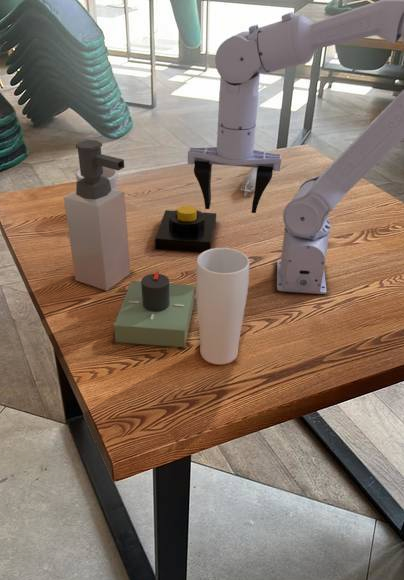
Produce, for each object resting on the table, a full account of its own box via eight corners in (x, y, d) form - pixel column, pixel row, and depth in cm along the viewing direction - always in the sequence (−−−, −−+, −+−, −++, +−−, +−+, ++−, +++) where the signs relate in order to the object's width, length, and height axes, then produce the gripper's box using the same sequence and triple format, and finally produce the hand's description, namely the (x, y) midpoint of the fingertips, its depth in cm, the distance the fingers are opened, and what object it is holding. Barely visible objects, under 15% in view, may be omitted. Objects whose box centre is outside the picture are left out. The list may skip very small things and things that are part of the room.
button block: (210, 253, 103) (210, 232, 100) (155, 249, 104) (154, 229, 101) (216, 223, 112) (216, 204, 110) (165, 220, 113) (165, 201, 110)
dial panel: (184, 347, 81) (184, 329, 79) (115, 342, 82) (113, 324, 80) (194, 301, 91) (194, 284, 89) (132, 296, 91) (131, 279, 89)
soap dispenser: (118, 295, 92) (105, 158, 78) (75, 279, 95) (56, 146, 81) (141, 277, 96) (133, 144, 82) (100, 263, 99) (85, 133, 86)
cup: (128, 222, 112) (126, 183, 107) (88, 228, 110) (84, 188, 105) (114, 200, 120) (111, 163, 115) (76, 206, 117) (71, 167, 112)
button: (195, 223, 104) (195, 214, 103) (175, 222, 104) (175, 213, 103) (197, 214, 107) (197, 205, 106) (178, 213, 107) (178, 204, 106)
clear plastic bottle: (255, 168, 135) (257, 140, 131) (275, 171, 134) (277, 143, 130) (233, 197, 122) (235, 167, 118) (255, 201, 121) (257, 170, 117)
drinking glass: (240, 339, 83) (247, 246, 74) (245, 369, 78) (253, 274, 68) (194, 340, 83) (195, 247, 73) (195, 370, 78) (196, 274, 68)
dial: (167, 312, 83) (166, 287, 80) (140, 310, 83) (138, 285, 80) (171, 297, 86) (171, 272, 83) (145, 295, 86) (143, 270, 83)
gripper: (285, 119, 89) (275, 202, 97) (192, 112, 90) (190, 195, 98) (284, 134, 83) (274, 220, 92) (186, 126, 84) (184, 212, 93)
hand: (230, 208), depth 95 cm, fingers open, 7 cm apart
